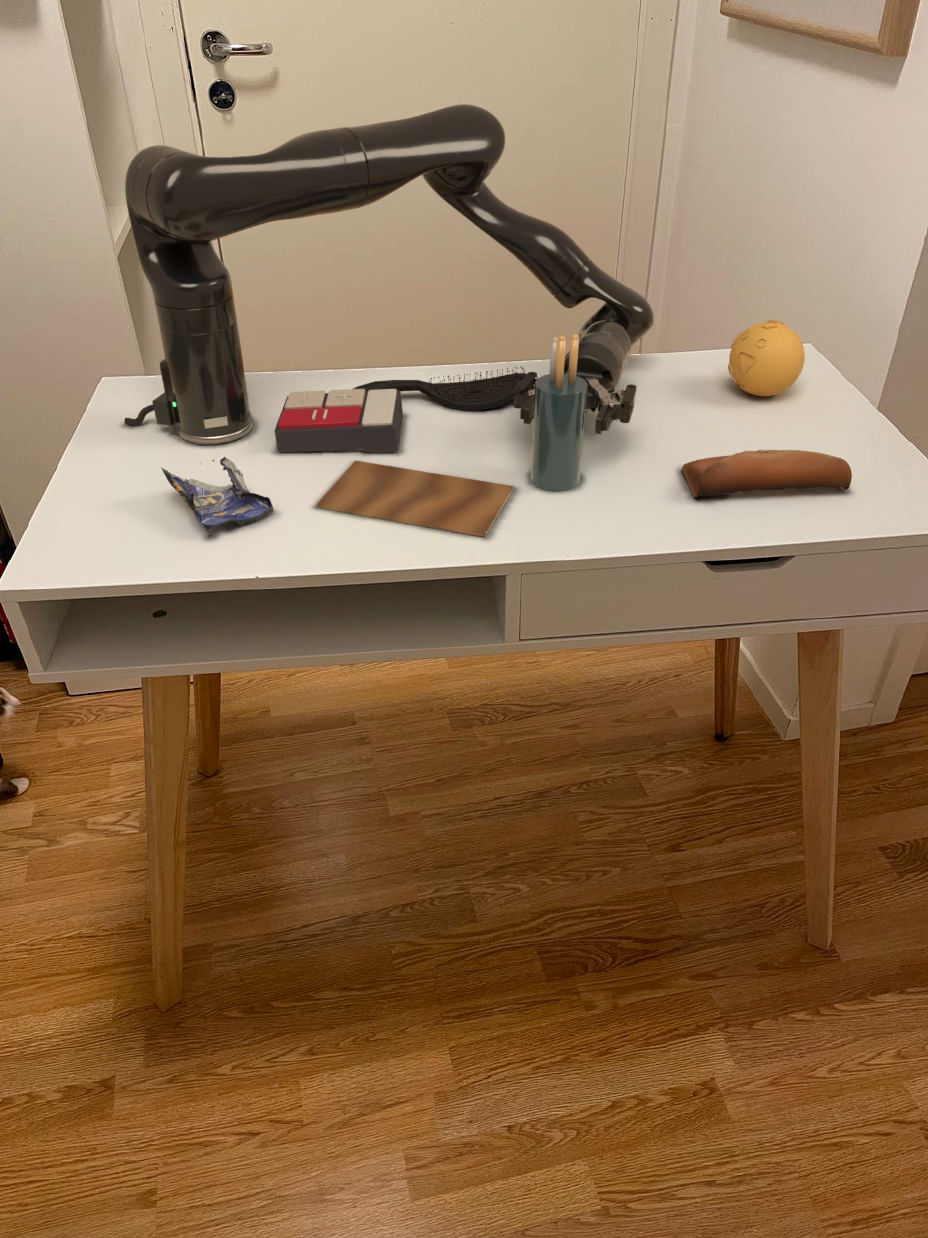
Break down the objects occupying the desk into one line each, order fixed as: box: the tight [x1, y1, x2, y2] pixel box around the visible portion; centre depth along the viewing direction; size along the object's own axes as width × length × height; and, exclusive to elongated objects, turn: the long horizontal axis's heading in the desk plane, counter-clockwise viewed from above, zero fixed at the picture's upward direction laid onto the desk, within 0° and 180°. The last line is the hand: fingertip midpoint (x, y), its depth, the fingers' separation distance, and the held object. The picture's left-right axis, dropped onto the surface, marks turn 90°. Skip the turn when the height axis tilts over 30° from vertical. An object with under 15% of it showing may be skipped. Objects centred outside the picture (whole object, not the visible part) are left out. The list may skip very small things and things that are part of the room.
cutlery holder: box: [530, 333, 587, 492], centre depth 109 cm, size 6×6×18 cm
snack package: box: [160, 456, 274, 538], centre depth 107 cm, size 12×6×12 cm
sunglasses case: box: [681, 449, 853, 499], centre depth 113 cm, size 18×7×7 cm, turn 96°
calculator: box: [274, 388, 404, 454], centre depth 123 cm, size 11×4×15 cm
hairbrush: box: [352, 365, 527, 412], centre depth 132 cm, size 8×4×25 cm
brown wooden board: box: [316, 460, 514, 538], centre depth 111 cm, size 20×11×1 cm, turn 72°
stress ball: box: [727, 319, 806, 397], centre depth 131 cm, size 10×10×10 cm
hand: (561, 421), depth 112 cm, fingers open, 8 cm apart
